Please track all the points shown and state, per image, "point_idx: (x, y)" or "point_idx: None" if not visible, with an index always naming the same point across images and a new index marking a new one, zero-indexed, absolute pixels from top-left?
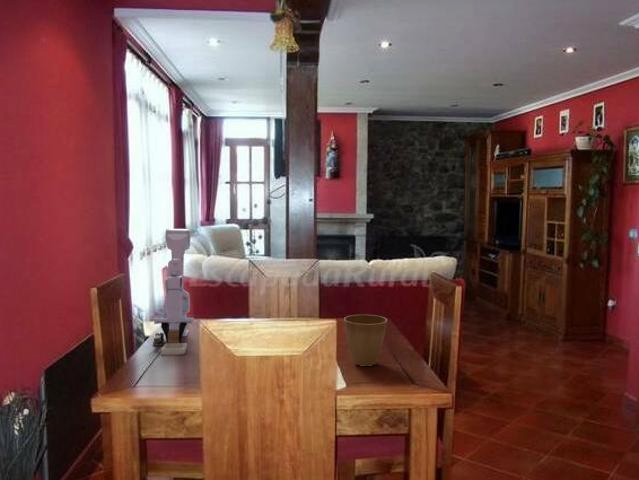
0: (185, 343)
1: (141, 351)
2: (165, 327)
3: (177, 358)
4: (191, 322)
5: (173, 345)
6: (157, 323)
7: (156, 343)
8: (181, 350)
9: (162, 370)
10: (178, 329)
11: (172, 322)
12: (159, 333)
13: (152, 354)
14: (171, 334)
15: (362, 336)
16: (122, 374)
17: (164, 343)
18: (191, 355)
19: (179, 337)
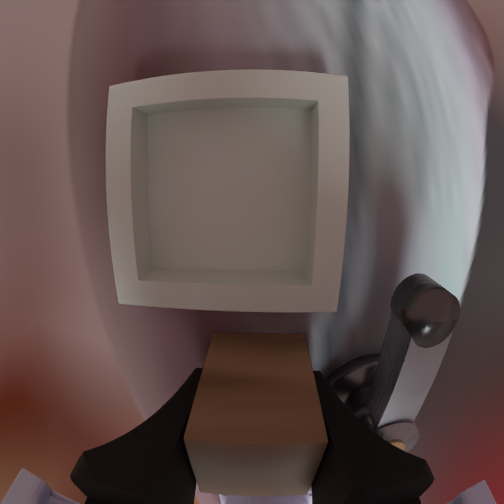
0: (128, 298)
1: (476, 223)
2: (375, 475)
3: (177, 3)
4: (28, 484)
5: (244, 279)
6: (452, 501)
7: (418, 276)
8: (136, 84)
9: None
10: (213, 487)
11: None
12: (392, 444)
13: (404, 119)
14: (279, 416)
15: None
16: None
17: (335, 383)
18: (82, 85)
19: (193, 394)
